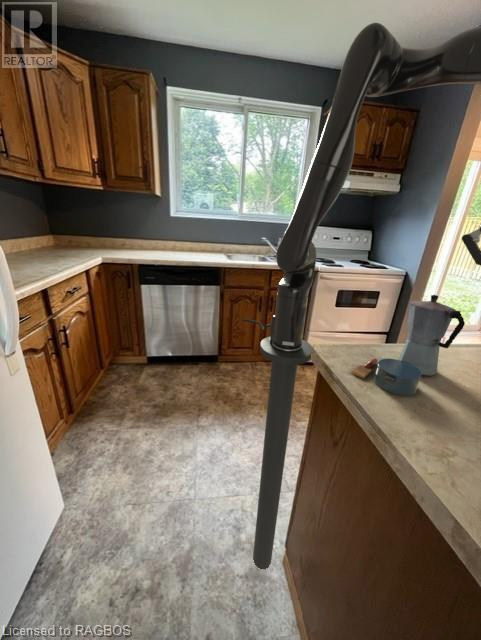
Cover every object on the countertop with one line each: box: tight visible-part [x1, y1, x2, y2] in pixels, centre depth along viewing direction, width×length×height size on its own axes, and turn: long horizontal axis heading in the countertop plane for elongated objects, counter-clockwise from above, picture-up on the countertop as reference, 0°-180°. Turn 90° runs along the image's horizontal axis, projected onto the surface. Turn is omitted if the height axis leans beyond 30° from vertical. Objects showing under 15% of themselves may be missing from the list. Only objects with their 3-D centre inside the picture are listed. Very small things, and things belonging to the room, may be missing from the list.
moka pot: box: [397, 294, 466, 377], centre depth 69 cm, size 10×15×20 cm, turn 15°
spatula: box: [351, 357, 379, 379], centre depth 71 cm, size 11×3×1 cm, turn 133°
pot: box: [373, 358, 422, 397], centre depth 64 cm, size 9×12×4 cm
